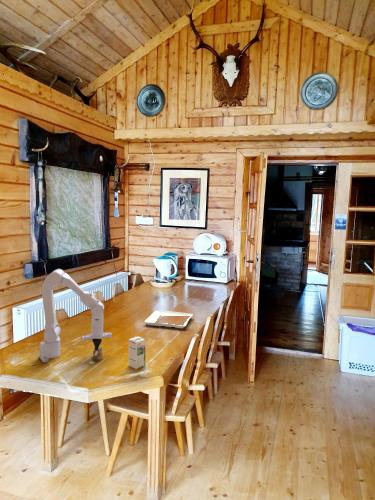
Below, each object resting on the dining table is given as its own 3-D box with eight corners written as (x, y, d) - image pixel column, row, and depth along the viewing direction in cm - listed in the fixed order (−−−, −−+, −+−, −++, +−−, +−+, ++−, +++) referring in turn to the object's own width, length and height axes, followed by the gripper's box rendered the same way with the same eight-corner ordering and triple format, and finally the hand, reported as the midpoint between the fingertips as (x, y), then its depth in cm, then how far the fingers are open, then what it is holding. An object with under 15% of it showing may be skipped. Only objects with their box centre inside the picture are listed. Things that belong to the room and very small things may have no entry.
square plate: (155, 314, 263) (155, 309, 262) (193, 318, 257) (193, 313, 257) (143, 326, 236) (143, 320, 236) (185, 331, 231) (185, 325, 230)
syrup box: (136, 372, 171) (136, 342, 170) (128, 367, 175) (128, 338, 174) (145, 368, 176) (146, 339, 174) (137, 364, 180) (137, 335, 178)
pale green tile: (90, 361, 178) (90, 361, 178) (95, 362, 177) (95, 362, 177) (87, 363, 176) (87, 362, 176) (92, 364, 175) (92, 363, 175)
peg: (90, 363, 176) (90, 354, 175) (96, 353, 187) (96, 344, 187) (100, 363, 176) (100, 354, 175) (104, 353, 188) (105, 345, 187)
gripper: (84, 330, 177) (84, 357, 179) (113, 327, 184) (113, 353, 186) (81, 326, 183) (80, 352, 185) (109, 322, 190) (108, 348, 192)
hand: (96, 352), depth 186 cm, fingers closed, pressing on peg
